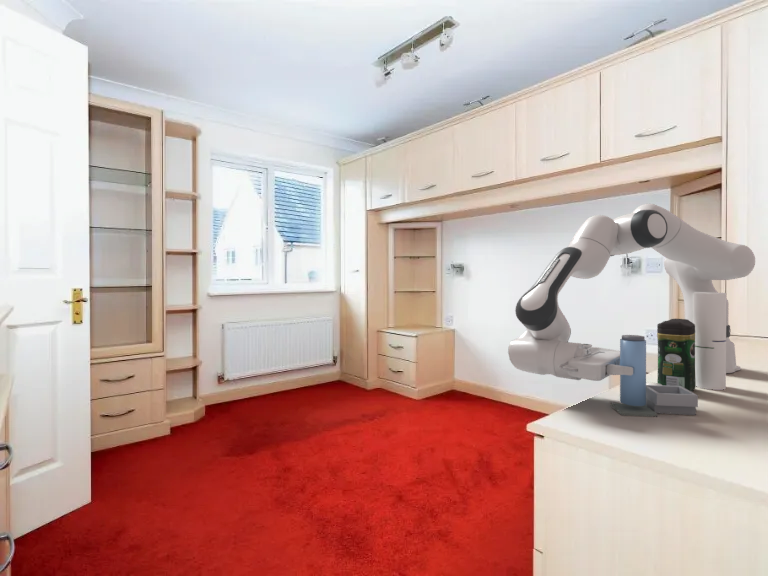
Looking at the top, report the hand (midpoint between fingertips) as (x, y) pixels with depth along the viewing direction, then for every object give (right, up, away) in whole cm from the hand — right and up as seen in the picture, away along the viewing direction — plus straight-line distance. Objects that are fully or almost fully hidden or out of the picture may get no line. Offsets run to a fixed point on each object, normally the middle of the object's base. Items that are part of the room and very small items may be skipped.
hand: (637, 368), depth 96 cm
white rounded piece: (+10, -9, +10) cm, 16 cm away
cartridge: (-1, -8, +1) cm, 8 cm away
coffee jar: (+20, -9, +18) cm, 28 cm away
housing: (+9, -9, +6) cm, 14 cm away
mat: (0, -9, +1) cm, 10 cm away
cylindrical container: (+31, -9, +21) cm, 38 cm away
